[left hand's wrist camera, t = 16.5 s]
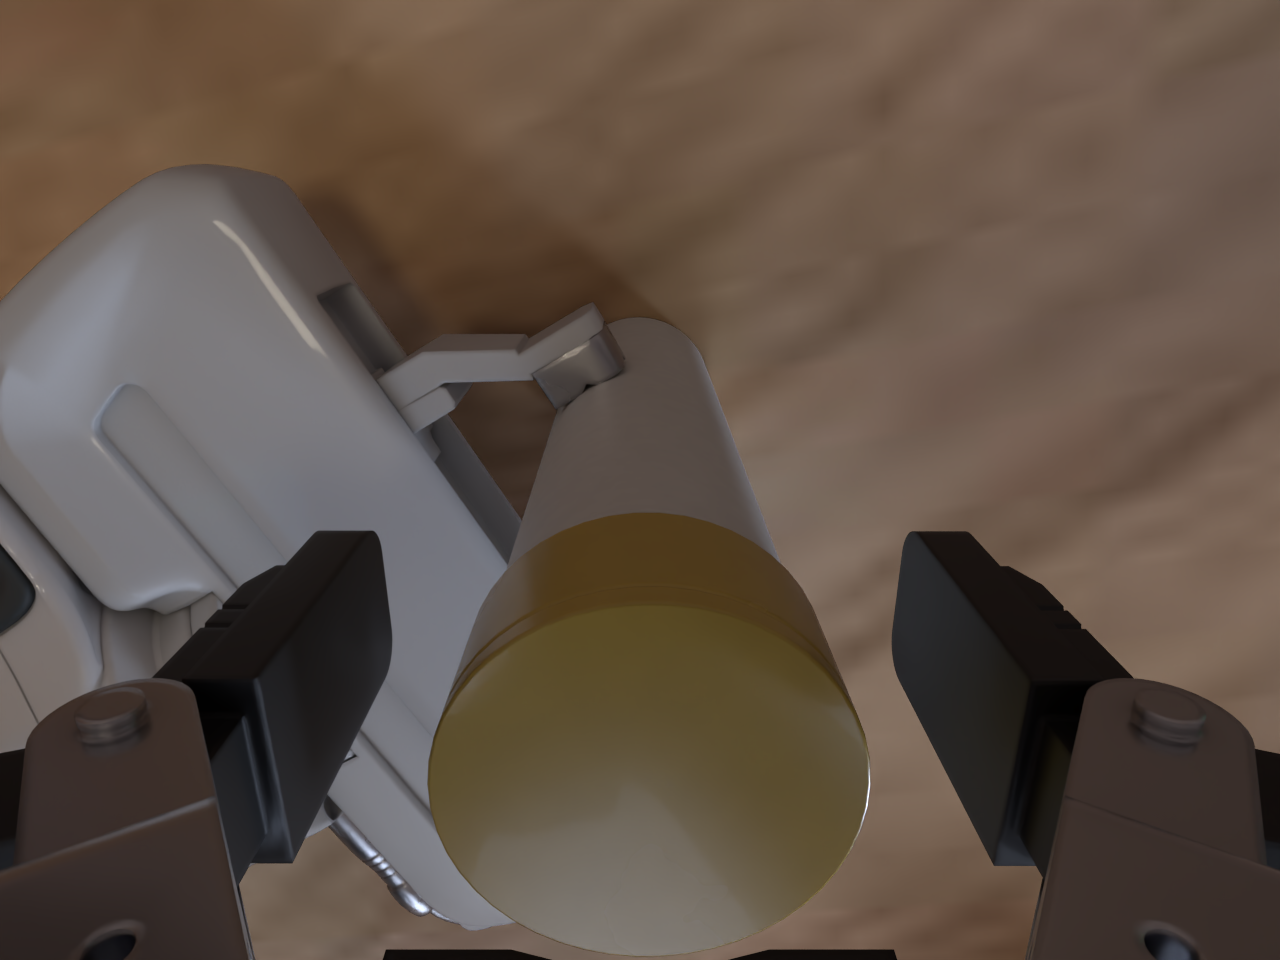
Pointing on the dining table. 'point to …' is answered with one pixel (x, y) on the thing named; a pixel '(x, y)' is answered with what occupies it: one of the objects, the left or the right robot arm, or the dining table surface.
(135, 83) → the dining table surface
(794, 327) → the dining table surface
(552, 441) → the white tall cylinder
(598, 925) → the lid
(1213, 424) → the dining table surface
